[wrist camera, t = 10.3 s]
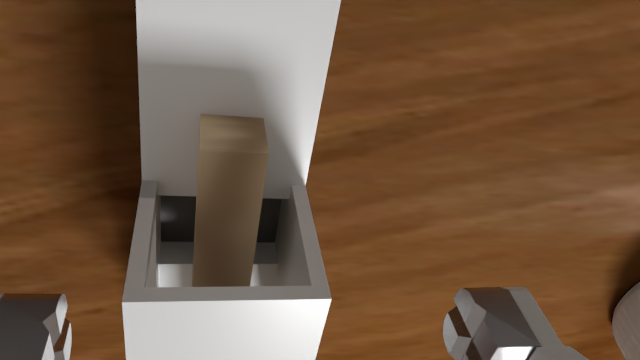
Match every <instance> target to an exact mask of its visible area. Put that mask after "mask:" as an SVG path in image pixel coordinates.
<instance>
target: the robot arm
mask: <svg viewBox="0 0 640 360" xmlns="http://www.w3.org/2000/svg"><path fill="white" fill-rule="evenodd" d="M454 301H455V303H456V305H457V306H456V307H455V308H453V309H452V310H451V311H449V312H448V313H447V316H446V318H445V320H444V326H443V336H444V341H445V345H446V348H447V350H448V353H449V354H450V355H451V356H452V357H453V358H454V359H455V360H588V359H587V358H586V357H584V356H583V355H581V354H580V353H579V352H577V351H576V350H574V349H573V348H572V347H570V346H563V344H562V342H561V341H560V339H559V338H558V336H557V334H556V333H555V331H554V330H553V328H552V326H551V325H550V323H549V322H548V320H547V318H546V317H545V315H544V314H543V312H542V310H541V309H540V307H539V306H538V304H537V302H536V301H535V299H534V298H533V296H532V294H531V293H530V292H529V290H527V289H526V288H525V287H503V288H501V287H482V288H462V289H461V290H459V291H458V292H457V294H456V296H455V298H454ZM67 307H68V306H67V301H66V297H65V295H64V294H6V293H5V294H0V360H69V359H70V351H71V342H72V338H71V325H70V321H68V320H67V319H66V318H65V315H66V311H67Z"/></svg>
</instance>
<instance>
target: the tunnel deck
mask: <svg viewBox="0 0 640 360" xmlns="http://www.w3.org/2000/svg"><path fill="white" fill-rule="evenodd" d="M340 2H341V0H136V22H137V52H138V81H139V111H140V140H141V170H142V183H141V189H140V195H139V201H138V207H137V213H136V219H135V226H134V232H133V238H132V244H131V250H130V256H129V262H128V269H127V275H126V281H125V287H124V293H123V299H122V309H123V323H124V336H125V350H126V360H315V358H316V355H317V351H318V347H319V343H320V340H321V336H322V332H323V329H324V325H325V321H326V318H327V314H328V310H329V306H330V303H331V295H330V290H329V286H328V282H327V277H326V273H325V269H324V264H323V260H322V256H321V251H320V247H319V243H318V239H317V234H316V230H315V226H314V221H313V217H312V213H311V208H310V204H309V200H308V195H307V191H306V187H305V185H306V180H307V174H308V169H309V164H310V159H311V154H312V148H313V143H314V138H315V133H316V127H317V122H318V117H319V112H320V107H321V101H322V96H323V91H324V86H325V80H326V75H327V70H328V65H329V60H330V54H331V49H332V44H333V39H334V33H335V28H336V23H337V18H338V13H339V7H340ZM200 114H211V115H225V116H240V117H255V118H264V124H265V130H266V137H267V143H268V149H269V157H268V164H267V171H266V178H265V185H264V192H263V199H262V206H261V213H260V220H259V227H258V234H257V241H256V248H255V255H254V262H253V269H252V276H251V283H250V286H241V287H192V273H193V253H194V232H195V212H196V192H197V171H198V151H199V131H200Z"/></svg>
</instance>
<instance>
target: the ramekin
mask: <svg viewBox="0 0 640 360" xmlns="http://www.w3.org/2000/svg"><path fill="white" fill-rule="evenodd" d="M612 331H613V335H614V338H615V340H616V342H617V344H618V346H619V348H620V350H621V352H622V353H623V355H624V357H625V359H626V360H640V282H639V283H637V284H636V285H635V286H634V287H632V288H631V289H630V290H629V291H628V292H627V293H626V294H625V295H624V296H623V297H622V299H621V300H620V301H619V303H618V304H617V306H616V308H615V310H614V314H613V321H612Z"/></svg>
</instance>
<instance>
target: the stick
mask: <svg viewBox="0 0 640 360" xmlns="http://www.w3.org/2000/svg"><path fill="white" fill-rule="evenodd" d="M268 157H269V149H268V143H267V137H266V130H265V124H264V118H255V117H240V116H225V115H211V114H200V131H199V151H198V171H197V192H196V212H195V232H194V253H193V273H192V287H241V286H250V283H251V276H252V269H253V262H254V255H255V248H256V241H257V234H258V227H259V220H260V213H261V206H262V199H263V192H264V185H265V178H266V171H267V164H268Z"/></svg>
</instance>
